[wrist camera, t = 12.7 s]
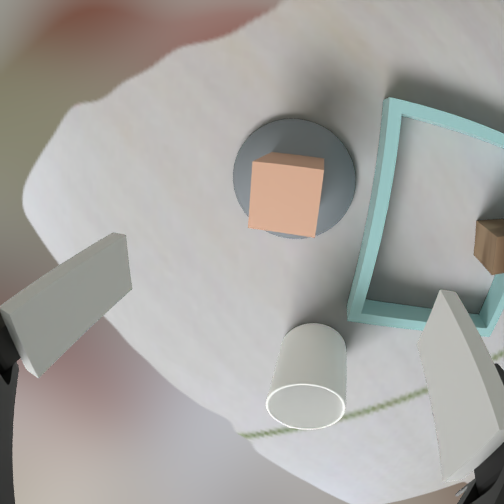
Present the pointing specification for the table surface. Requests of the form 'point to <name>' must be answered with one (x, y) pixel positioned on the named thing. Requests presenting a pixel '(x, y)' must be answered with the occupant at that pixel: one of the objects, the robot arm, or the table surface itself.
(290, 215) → the painted box
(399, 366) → the table surface
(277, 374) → the cup
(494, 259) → the walnut block
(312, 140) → the grey dome puck
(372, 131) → the table surface
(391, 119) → the corral
